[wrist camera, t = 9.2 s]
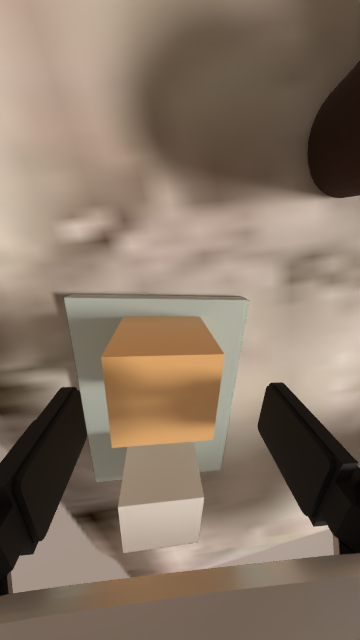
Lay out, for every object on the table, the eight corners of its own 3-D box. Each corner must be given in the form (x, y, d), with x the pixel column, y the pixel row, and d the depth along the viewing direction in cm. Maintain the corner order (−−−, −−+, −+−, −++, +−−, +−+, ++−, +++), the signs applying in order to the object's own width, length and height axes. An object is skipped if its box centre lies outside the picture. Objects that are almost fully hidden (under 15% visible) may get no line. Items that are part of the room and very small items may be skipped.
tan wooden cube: (200, 316, 14) (224, 354, 9) (195, 379, 16) (213, 439, 11) (123, 316, 13) (101, 357, 8) (127, 381, 15) (112, 447, 10)
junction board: (242, 296, 15) (302, 328, 9) (217, 458, 21) (241, 544, 15) (71, 293, 14) (-3, 329, 7) (99, 469, 20) (72, 568, 14)
